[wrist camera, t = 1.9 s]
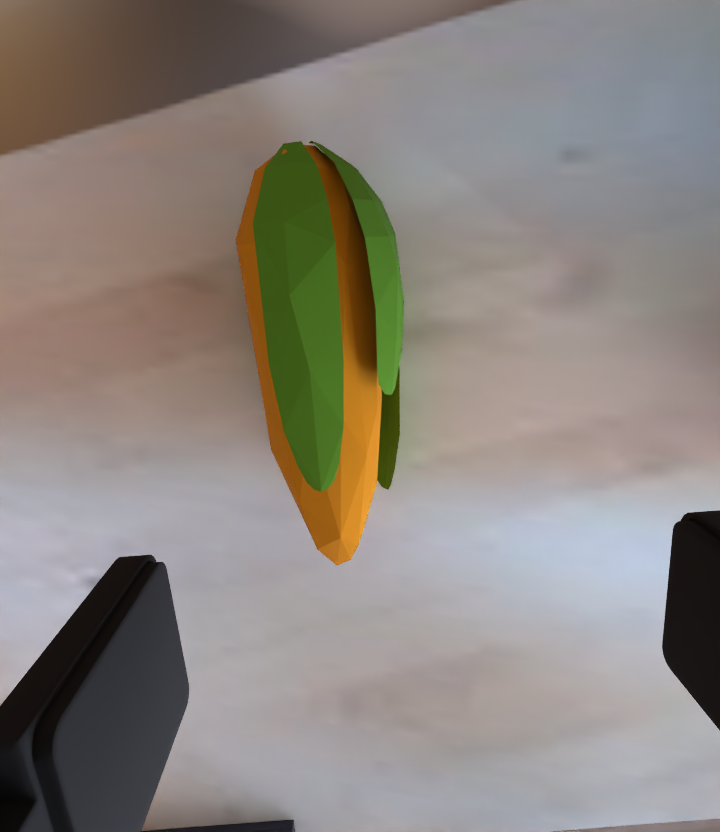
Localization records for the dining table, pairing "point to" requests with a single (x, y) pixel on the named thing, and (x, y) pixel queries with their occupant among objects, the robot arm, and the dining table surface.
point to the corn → (324, 334)
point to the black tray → (241, 827)
